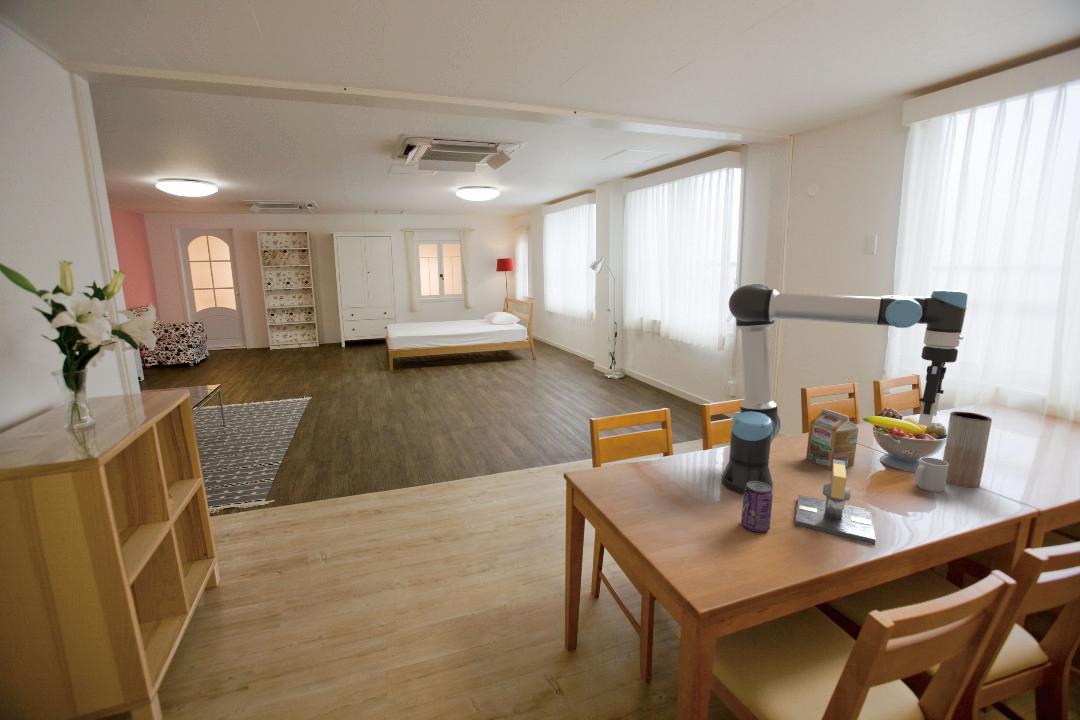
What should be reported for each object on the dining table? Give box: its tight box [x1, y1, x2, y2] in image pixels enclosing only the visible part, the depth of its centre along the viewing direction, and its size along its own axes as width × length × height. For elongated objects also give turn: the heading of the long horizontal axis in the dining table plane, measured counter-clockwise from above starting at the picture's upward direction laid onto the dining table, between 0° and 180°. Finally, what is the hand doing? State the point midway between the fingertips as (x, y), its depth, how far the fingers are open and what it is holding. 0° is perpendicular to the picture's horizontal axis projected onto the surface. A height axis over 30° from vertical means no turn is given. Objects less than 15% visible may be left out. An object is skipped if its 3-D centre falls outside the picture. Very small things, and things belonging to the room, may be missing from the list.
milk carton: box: [805, 408, 859, 471], centre depth 171 cm, size 11×11×19 cm
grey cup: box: [914, 456, 949, 493], centre depth 151 cm, size 7×10×9 cm
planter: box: [942, 410, 993, 488], centre depth 154 cm, size 10×10×23 cm
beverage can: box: [740, 481, 774, 533], centre depth 127 cm, size 7×7×12 cm
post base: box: [794, 494, 877, 546], centre depth 131 cm, size 18×18×7 cm
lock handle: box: [822, 459, 852, 502], centre depth 130 cm, size 6×13×8 cm, turn 149°
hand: (927, 419), depth 134 cm, fingers open, 13 cm apart
